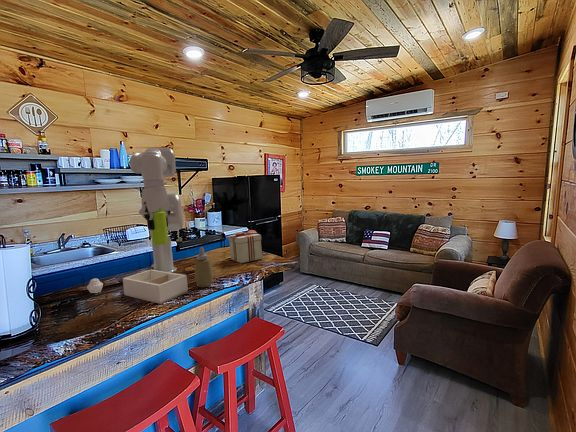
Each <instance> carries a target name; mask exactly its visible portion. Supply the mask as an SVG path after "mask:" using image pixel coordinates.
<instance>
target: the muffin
mask: <svg viewBox="0 0 576 432" xmlns="http://www.w3.org/2000/svg"><path fill="white" fill-rule="evenodd" d="M103 287H104V284H103V282H101V281H100V279H99V278H92V279H90V280H89V283H88V284H87V286H86V288H87V290H88V291H89V293H90V294H91V293H98V292H100V293H101V292H102V290H103Z"/></svg>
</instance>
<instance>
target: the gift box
mask: <svg viewBox="0 0 576 432" xmlns="http://www.w3.org/2000/svg"><path fill="white" fill-rule="evenodd" d="M225 237H226V238H228V242H229V252H230V254H229V255H230V260H231V261H234V262H236V263H240V264H245V263H250V262H254V261H258V260H262V259H263V251H262V234H260V233H258V232H257V231H256V230H254V229H249V230H248V231H245V232H243V231H237V232H234V233H232V234H231V235H227V236H225Z"/></svg>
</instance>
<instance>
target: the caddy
mask: <svg viewBox="0 0 576 432" xmlns="http://www.w3.org/2000/svg"><path fill="white" fill-rule="evenodd" d="M187 276H188V275H186V274H183V273H175V272H172V273H169V272H163V271H157V270H154V269H148V270H145V271H142V272H139V273H135V274H132V275H128V276H126V277H123V278H122V285H123V293H124V296H127V297H132V298H136V299H140V300H143V301H147V302H150V303H151V302H152V303H156V304H160V305H161V304H163V303H166V302H168V301H171V300H172V299H173V300H174V299H175V298H177V297H180V296H182V295H184V294H186V293H188V292H189V288H188V277H187Z"/></svg>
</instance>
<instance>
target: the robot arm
mask: <svg viewBox="0 0 576 432" xmlns="http://www.w3.org/2000/svg"><path fill="white" fill-rule="evenodd" d="M176 166H177V165H176V155H175V152H174V151H173V149H172V148H170V147H149V148H147V149H145V151H142V152H136V153H133V154H132V155H131V156H130V160H129V167H130V169H131V171H132V173H134V174H140V175H141V176H142V178H143V188H142V189H141V208H140V209H139V211H138V214H139V215H141V216H142V218H144V219H145V221H146V223H147V224H146V225H147V229H148V230H149V233H150V239H151V247H152V256H153V257H152V259H153V264H151V268H153V270H157V271H163V272H169V273H175V272H176V271H177V269H178V268H177V267H176V266H174V259H173V257H174V256H173V251H172V250H173V249H172V240H171V237H170V236H169V235H168V243H167V244H163V245H153V238H152V230H154V229H155V228H154V220H152V218H153V213H155V212H158V210H159V208H161V210H162V211H164V212H166V223H167V232H174V231H179V230H183V227H184V216H183V210H182V209H183V207H182V202H181V201H182V200H181V197H180V196H179V195H178V194H176V193H168V192H167V189H166V187H165V185H166V181H164V180H165V179H164V177H165V178H166V177H167V178H169V177H174V176H175V174H176V171H177V169H176V168H177V167H176Z"/></svg>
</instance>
